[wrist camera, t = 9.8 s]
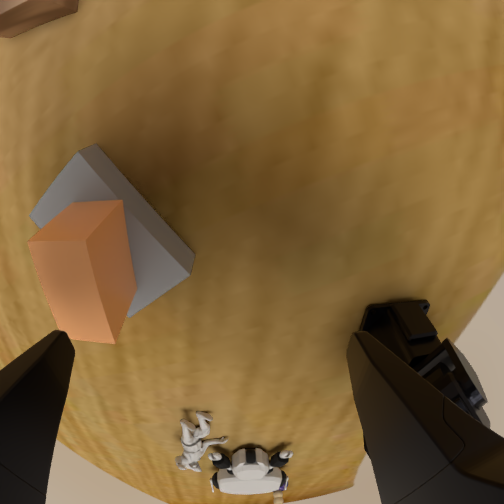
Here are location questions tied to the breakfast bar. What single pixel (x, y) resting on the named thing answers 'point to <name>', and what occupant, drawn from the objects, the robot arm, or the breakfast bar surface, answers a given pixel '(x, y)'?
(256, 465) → the robot toy
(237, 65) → the breakfast bar surface
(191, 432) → the white plastic figure
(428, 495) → the robot arm
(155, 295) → the grey brick
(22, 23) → the walnut brick
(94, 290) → the orange brick
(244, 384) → the breakfast bar surface
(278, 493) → the toy lamp
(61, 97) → the breakfast bar surface
